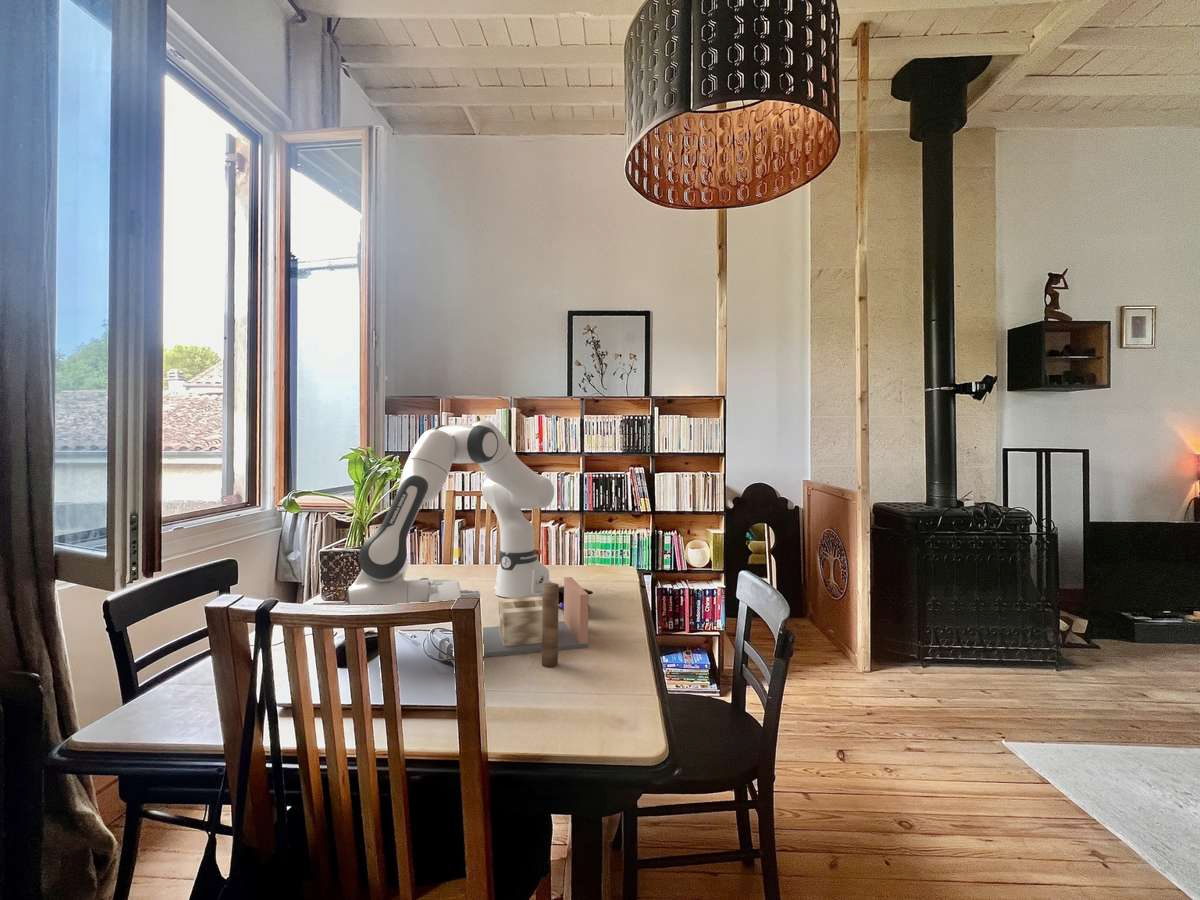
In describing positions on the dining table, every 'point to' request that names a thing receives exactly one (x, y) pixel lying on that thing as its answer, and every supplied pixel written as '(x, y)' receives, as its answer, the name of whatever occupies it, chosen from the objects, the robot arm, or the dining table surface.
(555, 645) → the dowel
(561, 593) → the figurine character
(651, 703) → the dining table surface
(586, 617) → the backstop
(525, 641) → the block
